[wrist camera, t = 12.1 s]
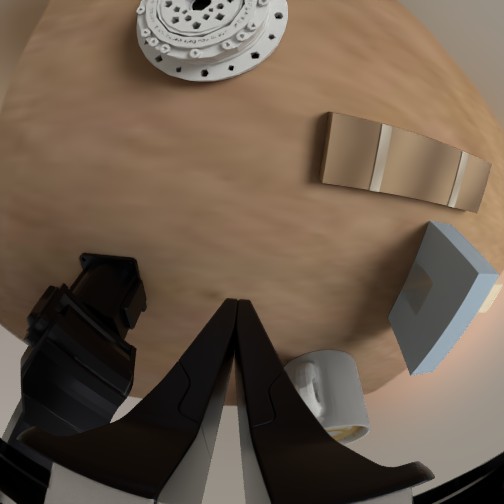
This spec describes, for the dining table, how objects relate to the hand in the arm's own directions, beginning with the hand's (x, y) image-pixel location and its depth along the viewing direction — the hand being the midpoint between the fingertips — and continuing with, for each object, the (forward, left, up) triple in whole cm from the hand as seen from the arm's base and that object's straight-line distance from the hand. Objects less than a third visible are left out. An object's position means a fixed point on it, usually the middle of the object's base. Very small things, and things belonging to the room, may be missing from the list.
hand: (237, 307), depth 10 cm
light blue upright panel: (+22, -7, -12) cm, 26 cm away
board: (+13, +4, -12) cm, 18 cm away
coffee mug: (+10, -21, -12) cm, 27 cm away
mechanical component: (-3, +13, -12) cm, 18 cm away
